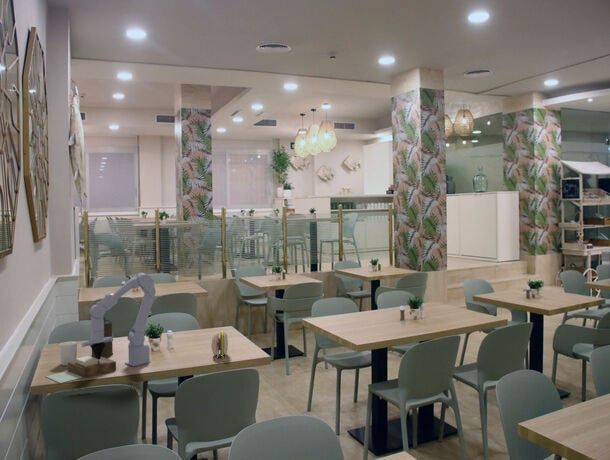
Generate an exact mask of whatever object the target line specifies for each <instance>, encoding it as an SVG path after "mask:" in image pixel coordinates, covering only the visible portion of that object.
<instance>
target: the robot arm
mask: <svg viewBox="0 0 610 460" xmlns="http://www.w3.org/2000/svg"><path fill="white" fill-rule="evenodd" d="M138 288H141V290H142V291H143V297H142V301H141V303H140V307H139V309H138V313H137V316H136V319H135V322H134V324H133V326H132V327H131V330H130V331H129V333H128V334H127V340H128V341H129V343H128V345H127V346H128V350H127V351H128V361H126V362H124V364H125V365H129V366H132V367H136V366H137V367H138V366H141V365H144V364H149V363H151V359H150V357H151V356H150V352H151V351H150V346H149V345H148V343H145V333H146V325H147V322H148V318H149V317H150V312H151V309H152V306H153V303H154V299H155V296H156V288H155V284H154V280H153V278H152V277H151V275H149V274H146V273H144V272H138V273H136V275H134V276H132V277H131V278H130V279H128V281H126V282H125V283H124V284H123V285H121V286H120V287H119V288H118V289H117V290H116V291H114V293H109V294H104V297H103V298H102V299H101V300H99V301H96V304H93V305H91V307H90V309H89V311H88V312H89V314H90V339H89V340H87V341H86V340H85V341H82V342H81V347H83V348H85V347H90V348H91V351H92V350H93V352H94V355H95V358H96V359H98V360H99V359H100V358H101V354H102V351H103V349H104V347H105V344H104V342H109V341H112V342H114V337H113V336H112V337H105V338H104V320H103V316H105V314H106V312H108V311H109V310H110V309H111V308H113V307H114V306H115V305H116V304H117V303H118V301H119V299H120V298H121V297H123V296H124V295H125V294H126V293H128V292H129V291H130V290H132V289H138Z"/></svg>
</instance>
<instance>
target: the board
mask: <svg viewBox="0 0 610 460" xmlns="http://www.w3.org/2000/svg"><path fill="white" fill-rule="evenodd" d="M93 358H95V357H93ZM116 370H117V361H115V360H113V359H111V358H110V359H109V358H108V357H105V358H104V357H101V358H100V359H99V360H98V364H94V365H90V366H86V367H85V366H83V365H80V364H77V363H76V361H73V362H68V365H67V371H70V372H72V373H75V374H77V375H79V376H81V377H83V378H85V379H86V378H90V377H94V376H98V375H102V374H106V373H109V372H113V371H116Z"/></svg>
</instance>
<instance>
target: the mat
mask: <svg viewBox="0 0 610 460" xmlns="http://www.w3.org/2000/svg"><path fill="white" fill-rule="evenodd" d="M45 378H47V379H50V380H52V381H53V382H56V383H58V384H64V383H68V382H71V381H75V380H79V379H83V378H84V377H82V376H79V375H77V374H74V373H72V372H69V371H68V370H67V371H63V372H59V373H55V374H50V375H46V376H45Z"/></svg>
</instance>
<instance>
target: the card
mask: <svg viewBox="0 0 610 460" xmlns="http://www.w3.org/2000/svg"><path fill="white" fill-rule="evenodd" d="M76 363H77V364H80V365H83V366H85V367H86V366H90V365H94V364H98V359H96V358H93V357H92V356H90V355H86V356H81V357H76Z"/></svg>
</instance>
